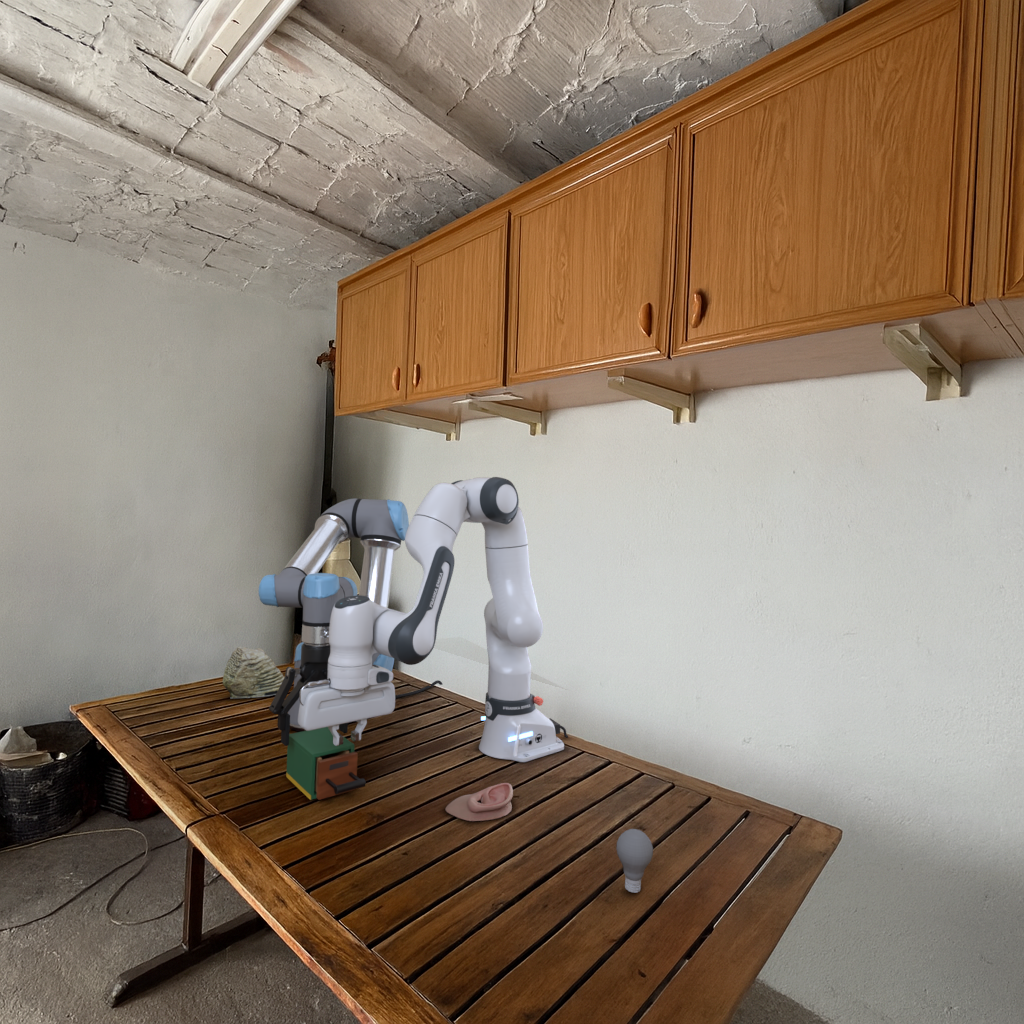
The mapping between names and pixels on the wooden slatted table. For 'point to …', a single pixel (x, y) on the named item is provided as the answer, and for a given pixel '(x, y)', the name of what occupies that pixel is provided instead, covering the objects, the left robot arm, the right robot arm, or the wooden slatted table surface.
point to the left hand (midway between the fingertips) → (314, 737)
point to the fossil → (251, 674)
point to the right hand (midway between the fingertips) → (347, 742)
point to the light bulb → (634, 857)
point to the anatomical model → (483, 804)
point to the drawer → (336, 774)
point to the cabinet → (310, 756)
